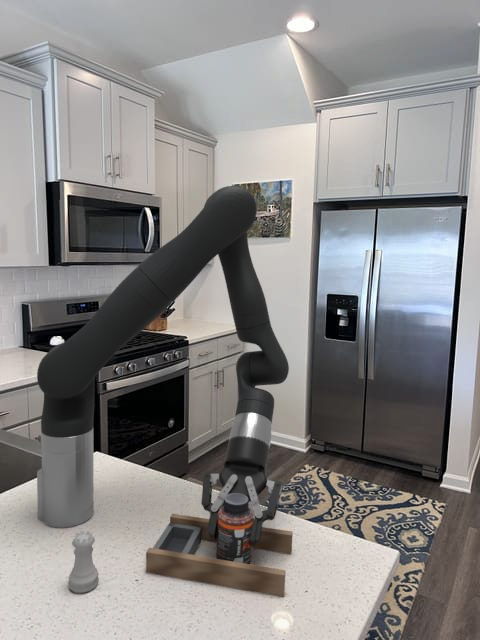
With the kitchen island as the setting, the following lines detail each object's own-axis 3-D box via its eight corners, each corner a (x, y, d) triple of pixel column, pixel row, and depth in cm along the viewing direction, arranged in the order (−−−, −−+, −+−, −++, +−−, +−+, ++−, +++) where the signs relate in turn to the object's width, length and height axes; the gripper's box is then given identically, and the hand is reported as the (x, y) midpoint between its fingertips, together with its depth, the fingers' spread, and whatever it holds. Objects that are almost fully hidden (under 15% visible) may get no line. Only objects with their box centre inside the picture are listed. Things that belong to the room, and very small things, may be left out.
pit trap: (149, 567, 77) (149, 552, 77) (169, 535, 86) (169, 522, 86) (184, 573, 76) (185, 558, 76) (201, 540, 85) (201, 527, 85)
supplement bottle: (248, 577, 76) (250, 510, 74) (211, 571, 77) (213, 504, 75) (254, 554, 81) (257, 492, 80) (220, 549, 83) (222, 487, 81)
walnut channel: (145, 572, 76) (146, 552, 75) (172, 531, 87) (172, 513, 87) (283, 596, 71) (284, 575, 71) (291, 550, 83) (292, 531, 83)
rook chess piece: (81, 598, 70) (81, 547, 69) (61, 587, 72) (61, 537, 71) (105, 582, 73) (105, 533, 72) (85, 571, 76) (85, 524, 75)
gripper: (207, 430, 85) (185, 528, 75) (287, 439, 82) (275, 542, 72) (214, 447, 91) (194, 540, 81) (289, 456, 88) (278, 554, 78)
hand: (232, 541), depth 77 cm, fingers closed on supplement bottle, 6 cm apart
